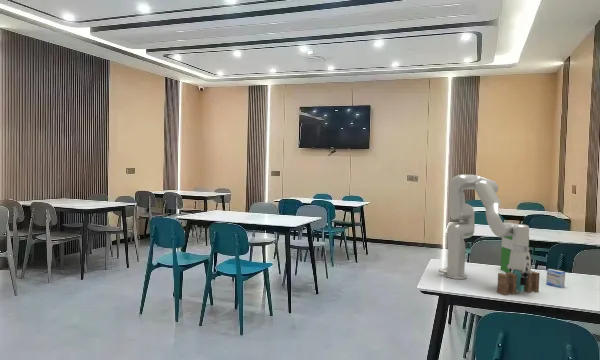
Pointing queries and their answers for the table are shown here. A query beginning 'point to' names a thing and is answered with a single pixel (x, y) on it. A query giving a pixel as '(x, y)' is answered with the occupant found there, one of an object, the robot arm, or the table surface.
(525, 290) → the domino
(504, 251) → the hardback book
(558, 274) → the medicine box
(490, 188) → the robot arm
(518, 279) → the gap domino
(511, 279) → the domino
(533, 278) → the domino
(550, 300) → the table surface
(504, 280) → the domino
